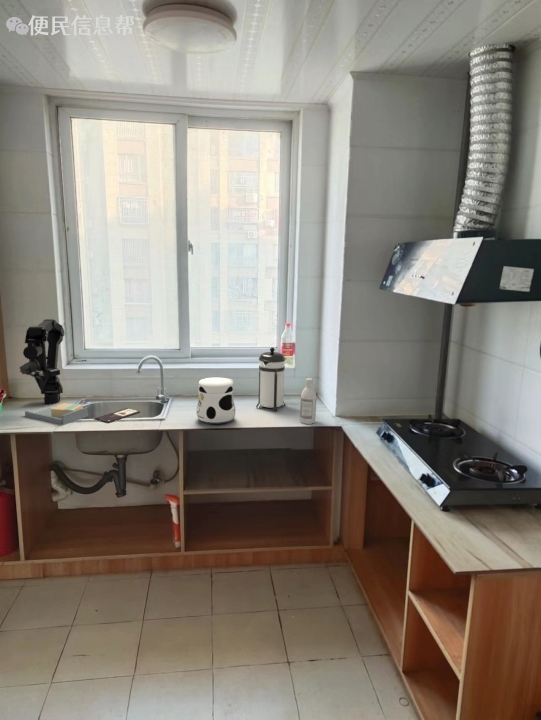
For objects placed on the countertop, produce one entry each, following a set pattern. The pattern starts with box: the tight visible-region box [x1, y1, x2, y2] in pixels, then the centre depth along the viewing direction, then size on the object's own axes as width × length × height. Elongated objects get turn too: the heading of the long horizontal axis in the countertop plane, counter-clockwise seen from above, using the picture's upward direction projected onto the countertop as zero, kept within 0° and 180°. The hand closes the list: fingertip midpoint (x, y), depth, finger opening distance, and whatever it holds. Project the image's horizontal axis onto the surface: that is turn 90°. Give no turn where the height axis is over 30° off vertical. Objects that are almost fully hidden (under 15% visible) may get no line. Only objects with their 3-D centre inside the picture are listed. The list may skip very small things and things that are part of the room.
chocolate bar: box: [94, 407, 141, 424], centre depth 211 cm, size 9×1×18 cm
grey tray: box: [24, 406, 89, 426], centre depth 204 cm, size 13×24×6 cm, turn 65°
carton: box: [51, 402, 84, 419], centre depth 204 cm, size 8×10×5 cm
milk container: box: [196, 377, 236, 425], centre depth 207 cm, size 17×17×18 cm
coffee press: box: [255, 347, 286, 412], centre depth 228 cm, size 17×16×30 cm
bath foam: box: [299, 377, 317, 425], centre depth 208 cm, size 7×7×20 cm
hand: (41, 389), depth 208 cm, fingers closed
